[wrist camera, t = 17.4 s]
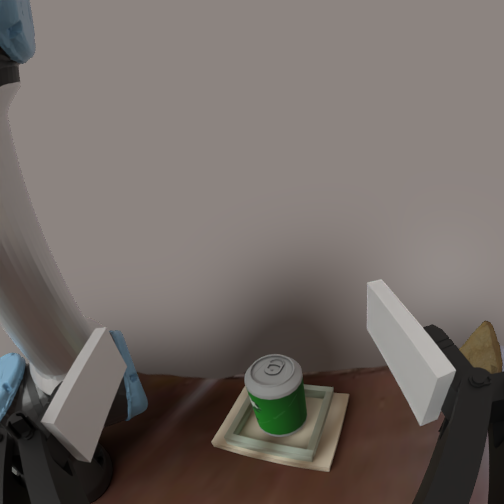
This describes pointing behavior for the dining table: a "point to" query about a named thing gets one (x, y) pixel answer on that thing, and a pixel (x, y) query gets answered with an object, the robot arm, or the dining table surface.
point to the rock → (483, 349)
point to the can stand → (293, 446)
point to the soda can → (277, 394)
